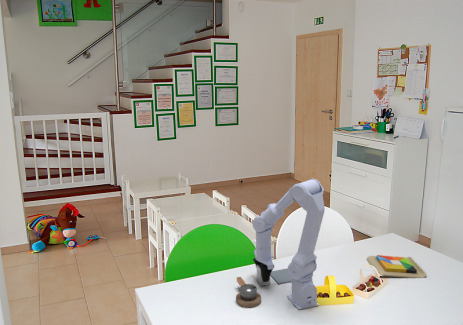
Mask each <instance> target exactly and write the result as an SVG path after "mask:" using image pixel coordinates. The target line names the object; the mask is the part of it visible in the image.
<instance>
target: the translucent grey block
mask: <svg viewBox="0 0 463 325" xmlns="http://www.w3.org/2000/svg"><path fill="white" fill-rule="evenodd" d="M259 265H263V264H257V268H256V282H257V283H258V284H259V286H267V285H268V286H269V285H271V277H270V278H269V281H268V282H263V279H262V273H261V269H260V267H259Z"/></svg>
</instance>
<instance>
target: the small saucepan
mask: <svg viewBox="0 0 463 325" xmlns="http://www.w3.org/2000/svg"><path fill="white" fill-rule="evenodd" d="M236 282H237V284H238V285H239V286H240V287H239V293H240V298H241V299H243V300H246V301H252V300H255V299H256V298H257V293H258V291H257V290H258V287H257V286H256V285H255V284H251V283H246V282H245V280H244V279H243V278H242V277H241V276H237V277H236Z"/></svg>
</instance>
